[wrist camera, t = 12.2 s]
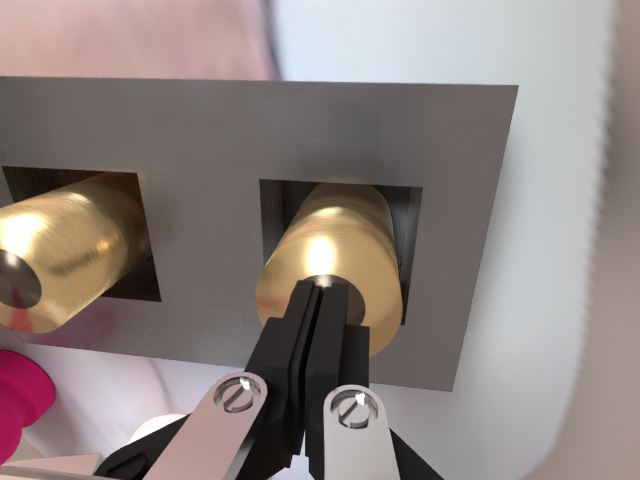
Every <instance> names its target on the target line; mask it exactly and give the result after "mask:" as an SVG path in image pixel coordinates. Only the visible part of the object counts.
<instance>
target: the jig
mask: <svg viewBox="0 0 640 480" xmlns="http://www.w3.org/2000/svg"><path fill="white" fill-rule="evenodd" d="M518 87H519V85H490V84H436V83H378V82H320V81H262V80H204V79H146V78H88V77H31V76H0V324H1V325H4V326H6V327H8V328H11V329H13V330H16V332H17V334H18V337H19V339H20V342H23V343H31V344H40V345H49V346H57V347H66V348H75V349H83V350H92V351H101V352H109V353H118V354H127V355H135V356H144V357H153V358H162V359H170V360H179V361H188V362H196V363H205V364H214V365H222V366H231V367H240V368H246V366H247V363H248V361H249V359H250V357H251V355H252V352H253V350H254V348H255V346H256V344H257V341H258V339H259V337H260V335H261V332H262V330H263V328H264V327H263V325H262V323H261V321H260V319H259V316H258V313H257V310H256V303H255V292H256V286H257V282H258V279H259V277H260V275H261V273H262V271H263V269H264V267H265V266H266V264H267V262H268V261H269V259H270V257H271V255H272V254H273V252H274V250H275V249H276V247H277V245H278V244H279V242H280V240H281V239H282V237H283V235H284V224H283V188H282V180H290V181H310V182H330V183H349V184H369V185H389V186H409V187H411V189H410V197H409V206H408V214H407V222H406V231H405V239H404V247H403V256H402V264H401V272H400V289H401V297H402V306H403V307H402V318H401V322H400V325H399V328H398V330H397V332H396V334H395V336H394V337H393V339H392V340H391V341H390V342H389V344H388V345H387V346H386V347H385V348H383V349H382V350H381V351H380V352H378V353H377V354H375V355H374V356H372V357H370V358H369V382H370V383H379V384H387V385H396V386H405V387H413V388H422V389H431V390H439V391H448V392H452V389H453V384H454V380H455V375H456V371H457V366H458V362H459V357H460V352H461V348H462V343H463V339H464V334H465V330H466V325H467V320H468V316H469V311H470V307H471V302H472V298H473V293H474V288H475V284H476V279H477V275H478V270H479V266H480V261H481V256H482V252H483V247H484V243H485V238H486V233H487V229H488V224H489V220H490V215H491V211H492V206H493V201H494V197H495V192H496V188H497V183H498V179H499V174H500V169H501V165H502V160H503V156H504V151H505V147H506V142H507V137H508V133H509V128H510V124H511V119H512V115H513V110H514V105H515V101H516V96H517V92H518ZM74 170H92V171H108V172H105V173H102V174H99V175H96V176H94V177H91V178H88V179H85V180H82V181H79V182H77V179H76V175H75V172H74ZM152 254H153V258H154V262H146V261H145V260H146V259H147V258H149V257H150V256H151V255H152Z"/></svg>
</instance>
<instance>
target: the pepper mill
mask: <svg viewBox="0 0 640 480" xmlns="http://www.w3.org/2000/svg"><path fill="white" fill-rule="evenodd" d="M54 399H55V390H54V387H53V384H52V382H51V380H50V379H49V377H48V376H47V375H46V373H45V372H44V371H43V370H42V369H41V368H40V367H39V366H38V365H36V364H35V363H34V362H32V361H31V360H29V359H28V358H26V357H24V356H22V355H19V354H17V353H13V352H9V351H0V466H1V465H2V464H3V463H4V462H5V461H6V460H7V459H9V457H11V456H12V455H13V453H14V452H15V451H16V449H17V447H18V445H19V442H20V438H21V434H22V427H27V426H30V425H32V424H33V423H35V422H36V421H37V420H38V419H39V418H40V417H41V416H42V415H43V414H44V413H45V412H46V411H47V410H48V409H49V408H50V407H51V405H52V404H53V402H54Z"/></svg>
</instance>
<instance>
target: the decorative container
mask: <svg viewBox="0 0 640 480" xmlns="http://www.w3.org/2000/svg"><path fill="white" fill-rule="evenodd" d="M184 416H186V414H169V415H163V416H157V417H155V418H152V419H150V420H148V421H146V422H144V423H143V424H142V425H141V426H140V427H139V428H138V429H137V430H136V431H135V433H134V434H133V436H132V437H131V439H130V440H129V442H128V443H127V445H128V444H130V443H132V442H134V441H136V440H138V439H140V438H142V437H144V436H146V435H148V434H150V433H152V432H154V431H156V430H158V429H160V428H162V427H164V426H166V425H168V424H170V423H172V422H174V421H176V420H178V419H180V418H182V417H184Z"/></svg>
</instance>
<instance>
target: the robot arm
mask: <svg viewBox="0 0 640 480" xmlns="http://www.w3.org/2000/svg"><path fill="white" fill-rule="evenodd" d="M348 293H349V284H342V283H332V286H331V287H325V290H324V294H323V298H322V302H321V286H315V281H306V280H298V281H297V283H296V285H295V288H294V290H293V293H292V296H291V298H290V301H289V303H288V306H287V308H286V311H285V314H284V316H283V318H278V317H269V318H268V320H267V321H266V324H265V326H264V328H263V330H262V332H261V335H260V337H259V339H258V341H257V344H256V346H255V348H254V350H253V352H252V355H251V357H250V359H249V361H248V363H247V366H246V368H245V370H244V372H237V373H232V374H229V375H226V376H224V377H223V378H221V379H219V380H218V381H217V382H216V383H215V384H214V385H213V386H212V387H211V388H210V389H209V391H208V392H207V393H206V395H205V396H204V397H203V399H202V400H201V401H200V403H199V404H198V406H197V407H196V408H195V410H194V411H193V412H192V413H190V414H188V415H186V416H184V417H182V418H180V419H178V420H176V421H174V422H172V423H170V424H168V425H166V426H164V427H162V428H160V429H158V430H156V431H154V432H152V433H150V434H148V435H146V436H144V437H142V438H140V439H138V440H136V441H134V442H132V443H130V444H128V445H126V446H124V447H122V448H120V449H119V450H117V451H116V452H114V453H112V454H111V455H110V456H109V457H107V458H103V457H102V454H101V453H98V454H86V455H74V456H62V457H50V458H38V459H26V460H18V461H14V462H9V463H6V464H4V465H1V466H0V480H272V476H273V475H275V474H276V473H277V472H279V471H280V470H282V469H283V468H284V467H286V468H290V465H291V461H292V456H293V455H300V452H301V447H302V442H303V437H304V432H305V456H306V457H309V473H310V474H311V475H312V477H313V478H314V479H315V480H444V479H443V478H442V477H441V476H440V475H439V474H438V473H437V472H436V471H435V470H434V469H432V468H431V467H430V466H429V465H428V464H427V463H426V462H425V461H424V460H423V459H422V458H421V457H420V456H419V455H418V454H417V453H416V452H415V451H413V450H412V449H411V448H410V447H409V446H408V445H407V444H406V443H405V442H404V441H403V440H402V439H401V438H400V437H399V436H398V435H397V434H396V433H394V432H393V431H392V430H391V429H390V428H389V425H388V420H387V415H386V411H385V407H384V404H383V402H382V400H381V399H380V398H379V396H378V395H377V394H376V393H374V392H373V391H371V390H370V389H369V340H370V326H360V325H350V324H347V311H348ZM320 305H321V306H320Z"/></svg>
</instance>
